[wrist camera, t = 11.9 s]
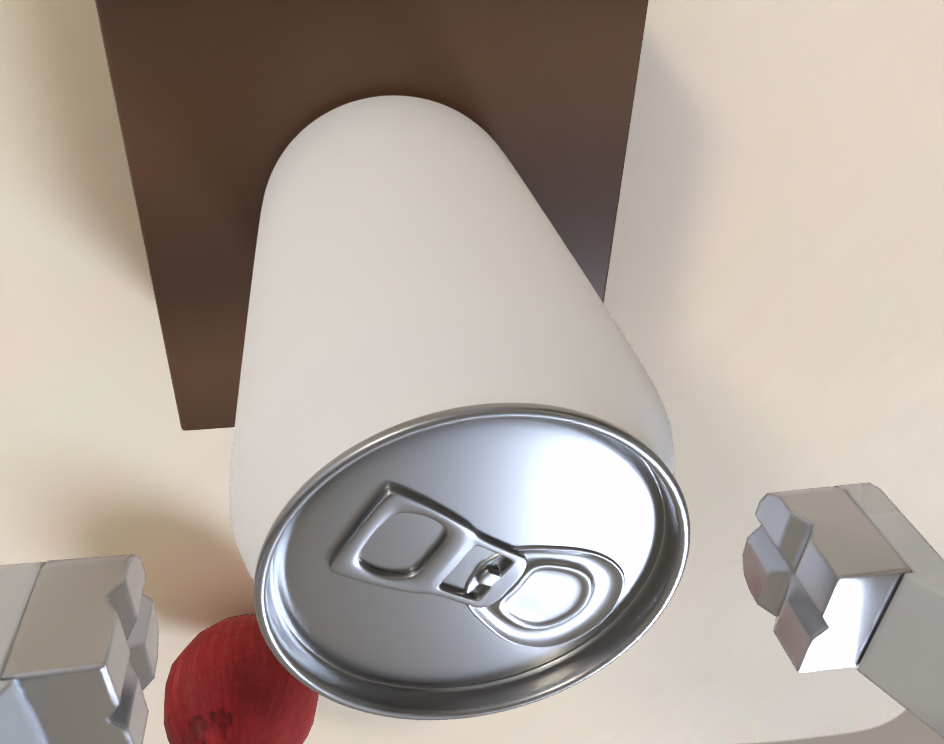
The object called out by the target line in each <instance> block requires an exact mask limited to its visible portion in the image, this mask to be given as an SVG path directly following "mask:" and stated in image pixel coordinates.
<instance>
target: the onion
mask: <svg viewBox="0 0 944 744" xmlns="http://www.w3.org/2000/svg"><path fill="white" fill-rule="evenodd" d="M318 695H319V694H318V693H317V692H315V691H313V690H312V689H310V688H309V687H307V686H306V685H304V684H303V683H301V682H300V681H299V680H298V679H296V678H295V677H294V676H293V675H292V674H291V673H289V672H288V671H287V670H286V669H285V668H284V666H283V665H282V664H281V663H280V662H279V661H278V660H277V658H276V657H275V656H274V654H273V653H272V651H271V650H270V648H269V647H268V645H267V643H266V641H265V639H264V637H263V635H262V633H261V630H260V627H259V624H258V621H257V617H256V615H252V614H251V615H249V614H246V615H240V616H234V617H229V618H227V619H224V620H222V621H220V622H218V623H216V624H214V625H212V626H211V627H209V628H207V629H206V630H204V631H202V632H200V633H199V634H198V635H197V636H196V637H195V638H194V639H193V640H192V641H191V643H190V644H189V645H188V646H187V647H186V648H185V649H184V650H183V652H182V653H181V654H180V655H179V657H178V658H177V659H176V660H175V661H174V663H173V664H172V666H171V669H170V673H169V676H168V679H167V682H166V687H165V700H164V726H165V730H166V734H167V738H168V741H169V743H170V744H303V742H304V741H305V739H306V738H307V736H308V734H309V732H310V729H311V727H312V725H313V722H314V717H315V711H316V706H317V701H318Z"/></svg>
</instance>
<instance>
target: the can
mask: <svg viewBox="0 0 944 744" xmlns="http://www.w3.org/2000/svg"><path fill="white" fill-rule="evenodd" d="M230 513H231V522H232V529H233V533H234V537H235V541H236V544H237V547H238V549H239V552H240V555H241V557H242V560H243V562H244V564H245V566H246V568H247V570H248V572H249V574H250V576H251V577H252V579H253V581H254V588H253V596H254V607H255V613H256V617H257V621H258V624H259V627H260V630H261V633H262V635H263V637H264V639H265V641H266V643H267V645H268V647H269V648H270V650H271V651H272V653H273V654H274V656H275V657H276V658H277V660H278V661H279V662H280V663H281V664H282V665H283V666H284V668H285V669H286V670H287V671H288V672H289V673H291V674H292V675H293V676H294V677H295V678H296V679H298V680H299V681H300V682H301V683H303V684H304V685H306V686H307V687H309V688H310V689H312V690H313V691H315V692H317V693H318V694H320V695H322V696H324V697H326V698H328V699H330V700H332V701H334V702H337V703H339V704H342V705H344V706H347V707H350V708H353V709H356V710H359V711H363V712H367V713H371V714H375V715H381V716H386V717H393V718H401V719H414V720H447V719H460V718H469V717H476V716H483V715H488V714H493V713H498V712H502V711H506V710H510V709H514V708H517V707H521V706H524V705H527V704H530V703H533V702H536V701H539V700H542V699H544V698H547V697H549V696H552V695H554V694H557V693H559V692H561V691H563V690H565V689H567V688H570V687H572V686H574V685H576V684H577V683H579V682H581V681H583V680H585V679H587V678H588V677H590V676H592V675H593V674H595V673H597V672H598V671H600V670H601V669H603V668H604V667H606V666H607V665H609V664H610V663H611V662H613V661H614V660H616V659H617V658H618V657H619V656H621V655H622V654H623V653H624V652H626V651H627V650H628V649H629V648H630V647H631V646H633V645H634V644H635V643H636V642H637V641H638V640H639V639H640V638H641V637H642V636H643V635H644V634H645V633H646V632H647V631H648V630H649V628H650V627H651V626H652V625H653V624H654V623H655V621H656V620H657V619H658V618H659V616H660V615H661V614H662V612H663V611H664V609H665V608H666V606H667V605H668V603H669V602H670V600H671V598H672V596H673V595H674V593H675V591H676V589H677V587H678V585H679V582H680V580H681V577H682V575H683V572H684V569H685V566H686V562H687V558H688V552H689V545H690V522H689V515H688V509H687V505H686V502H685V499H684V496H683V493H682V491H681V489H680V487H679V485H678V483H677V481H676V479H675V477H674V445H673V437H672V431H671V427H670V423H669V419H668V416H667V413H666V411H665V408H664V406H663V403H662V401H661V399H660V396H659V394H658V392H657V390H656V388H655V386H654V384H653V382H652V380H651V379H650V377H649V375H648V374H647V372H646V370H645V368H644V367H643V365H642V363H641V362H640V360H639V358H638V357H637V355H636V353H635V352H634V350H633V349H632V347H631V346H630V344H629V342H628V341H627V339H626V338H625V336H624V335H623V333H622V331H621V330H620V328H619V327H618V325H617V324H616V322H615V320H614V319H613V317H612V316H611V314H610V313H609V311H608V310H607V308H606V307H605V305H604V303H603V302H602V300H601V299H600V297H599V296H598V294H597V293H596V291H595V290H594V288H593V286H592V285H591V283H590V282H589V280H588V279H587V277H586V276H585V274H584V273H583V271H582V270H581V268H580V267H579V265H578V263H577V262H576V260H575V259H574V257H573V256H572V254H571V253H570V251H569V250H568V248H567V247H566V245H565V244H564V242H563V241H562V239H561V237H560V236H559V234H558V233H557V231H556V230H555V228H554V227H553V225H552V224H551V222H550V221H549V219H548V218H547V216H546V215H545V213H544V212H543V210H542V209H541V207H540V206H539V204H538V203H537V201H536V200H535V198H534V197H533V195H532V194H531V192H530V191H529V189H528V188H527V186H526V185H525V183H524V182H523V180H522V179H521V177H520V176H519V174H518V173H517V171H516V170H515V168H514V167H513V165H512V164H511V162H510V161H509V160H508V158H507V157H506V155H505V154H504V153H503V151H502V150H501V149H500V147H499V146H498V145H497V143H496V142H495V141H494V140H493V139H492V138H491V137H490V136H489V135H488V134H487V133H486V132H485V131H484V130H483V129H482V128H481V127H480V126H479V125H477V124H476V123H475V122H473V121H472V120H471V119H469V118H468V117H466V116H465V115H463V114H461V113H460V112H458V111H456V110H454V109H452V108H450V107H448V106H445V105H443V104H440V103H437V102H434V101H431V100H427V99H422V98H417V97H411V96H395V95H391V96H377V97H370V98H365V99H361V100H357V101H354V102H350V103H348V104H345V105H342V106H340V107H337V108H335V109H333V110H331V111H329V112H328V113H326V114H324V115H322V116H321V117H319V118H318V119H316V120H315V121H313V122H312V123H311V124H309V125H308V126H307V127H306V128H305V129H303V130H302V131H301V132H300V133H299V134H298V135H297V136H296V137H295V138H294V139H293V140H292V142H291V143H290V144H289V145H288V146H287V148H286V149H285V150H284V152H283V153H282V155H281V156H280V158H279V160H278V161H277V163H276V165H275V167H274V169H273V171H272V173H271V176H270V178H269V181H268V184H267V187H266V190H265V194H264V198H263V203H262V209H261V215H260V222H259V229H258V236H257V244H256V252H255V259H254V267H253V276H252V284H251V292H250V300H249V308H248V316H247V325H246V333H245V341H244V350H243V358H242V367H241V375H240V384H239V393H238V402H237V410H236V419H235V429H234V438H233V448H232V459H231V473H230Z"/></svg>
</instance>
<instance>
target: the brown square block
mask: <svg viewBox="0 0 944 744" xmlns="http://www.w3.org/2000/svg"><path fill="white" fill-rule="evenodd" d="M95 2H96V7H97V12H98V17H99V22H100V27H101V32H102V37H103V42H104V47H105V52H106V57H107V62H108V67H109V72H110V77H111V82H112V87H113V92H114V97H115V101H116V106H117V111H118V116H119V121H120V126H121V131H122V136H123V141H124V146H125V151H126V156H127V161H128V166H129V171H130V176H131V181H132V186H133V191H134V196H135V201H136V206H137V211H138V215H139V220H140V225H141V230H142V235H143V240H144V245H145V250H146V255H147V260H148V265H149V270H150V275H151V280H152V285H153V290H154V295H155V300H156V305H157V310H158V315H159V320H160V324H161V329H162V334H163V339H164V344H165V349H166V354H167V359H168V364H169V369H170V374H171V379H172V384H173V389H174V394H175V399H176V404H177V409H178V414H179V419H180V424H181V428H182V430H185V431H186V430H200V429H214V428H228V427H235V419H236V410H237V402H238V393H239V384H240V375H241V367H242V358H243V350H244V341H245V333H246V325H247V316H248V308H249V300H250V292H251V284H252V276H253V267H254V259H255V252H256V244H257V236H258V229H259V222H260V215H261V209H262V203H263V198H264V194H265V190H266V187H267V184H268V181H269V178H270V176H271V173H272V171H273V169H274V167H275V165H276V163H277V161H278V160H279V158H280V156H281V155H282V153H283V152H284V150H285V149H286V148H287V146H288V145H289V144H290V143H291V142H292V140H293V139H294V138H295V137H296V136H297V135H298V134H299V133H300V132H301V131H302V130H303V129H305V128H306V127H307V126H308V125H309V124H311V123H312V122H313V121H315V120H316V119H318V118H319V117H321V116H322V115H324V114H326V113H328V112H329V111H331V110H333V109H335V108H337V107H340V106H342V105H345V104H348V103H350V102H354V101H357V100H361V99H365V98H370V97H377V96H391V95H395V96H411V97H417V98H422V99H427V100H431V101H434V102H437V103H440V104H443V105H445V106H448V107H450V108H452V109H454V110H456V111H458V112H460V113H461V114H463V115H465V116H466V117H468V118H469V119H471V120H472V121H473V122H475V123H476V124H477V125H479V126H480V127H481V128H482V129H483V130H484V131H485V132H486V133H487V134H488V135H489V136H490V137H491V138H492V139H493V140H494V141H495V142H496V143H497V145H498V146H499V147H500V149H501V150H502V151H503V153H504V154H505V155H506V157H507V158H508V160H509V161H510V162H511V164H512V165H513V167H514V168H515V170H516V171H517V173H518V174H519V176H520V177H521V179H522V180H523V182H524V183H525V185H526V186H527V188H528V189H529V191H530V192H531V194H532V195H533V197H534V198H535V200H536V201H537V203H538V204H539V206H540V207H541V209H542V210H543V212H544V213H545V215H546V216H547V218H548V219H549V221H550V222H551V224H552V225H553V227H554V228H555V230H556V231H557V233H558V234H559V236H560V237H561V239H562V241H563V242H564V244H565V245H566V247H567V248H568V250H569V251H570V253H571V254H572V256H573V257H574V259H575V260H576V262H577V263H578V265H579V267H580V268H581V270H582V271H583V273H584V274H585V276H586V277H587V279H588V280H589V282H590V283H591V285H592V286H593V288H594V290H595V291H596V293H597V294H598V296H599V297H600V299H601V300H602V302H603V303H604V296H605V289H606V282H607V276H608V269H609V262H610V256H611V249H612V242H613V235H614V229H615V222H616V215H617V208H618V202H619V195H620V188H621V181H622V175H623V168H624V161H625V154H626V148H627V141H628V134H629V128H630V121H631V114H632V107H633V101H634V94H635V87H636V80H637V74H638V67H639V60H640V53H641V47H642V40H643V33H644V26H645V20H646V13H647V6H648V0H95Z"/></svg>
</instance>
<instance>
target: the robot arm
mask: <svg viewBox="0 0 944 744" xmlns="http://www.w3.org/2000/svg"><path fill="white" fill-rule="evenodd" d="M755 515H756V517H757V518H758V520H759V521H760V523H761V526H760V527H758V528H757V529H756V530H755V531H754V532H753V533H752V534H751V535H750V536H749V537H747V541H746V544H745V548H744V551H743V555H742V556H743V569H744V576H745V579H746V582H747V585H748V588H749V590H750V592H751V594H752V596H753V597H754V599H755V601H756V603H757V604H758V605H759V606H761V607H762V608H764V609H765V610H767V611H768V612H770V613H771V614H773V615H774V616H776V619H775V625H774V633H775V635H776V636H777V638H778V640H779V641H780V643H781V645H782V646H783V648H784V650H785V651H786V653H787V655H788V656H789V658H790V660H791V661H792V663H793V665H794V666H795V668H796V670H797V671H798V673H802V672H811V671H820V670H829V669H839V668H848V667H857V666H858V668H857V670H858V671H859V672H860V673H861V674H863V675H864V676H865V677H866V678H868V679H869V680H870V681H872V682H873V683H874V684H875V685H877V686H878V687H879V688H880V689H882V690H883V691H884V692H885V693H887V694H888V695H889V696H891V697H892V698H893V699H894V700H896V701H897V702H898V703H899V704H901V705H902V706H903V707H905V708H906V709H907V710H908V711H910V712H911V713H912V714H913V715H915V716H916V717H917V718H919V719H920V720H921V721H922V722H924V723H925V724H926V725H928V726H929V727H930V728H931V729H933V730H934V731H935V732H936V733H938V734H939V735H940V736H942V737H943V738H944V560H943V559H942V558H941V556H940V555H939V554H938V553H937V552H936V551H935V550H934V549H933V547H932V546H931V545H930V544H929V543H928V542H927V541H926V540H925V538H924V537H923V536H922V535H921V534H920V533H919V532H918V531H917V529H916V528H915V527H914V526H913V525H912V524H911V523H910V522H909V521H908V519H907V518H906V517H905V516H904V515H903V514H902V513H901V512H900V510H899V509H898V508H897V507H896V506H895V505H894V504H893V503H892V501H891V500H890V499H889V498H888V497H887V496H886V495H885V494H884V492H883V491H882V490H881V489H880V488H878V487H877V486H875V485H873V484H871V483H869V482H868V483H859V484H849V485H840V486H834V487H821V488H811V489H802V490H792V491H783V492H774V493H767V494H766V495H765V496H764V497H763V498H762V499H761V500H760V502H759V505H758V507H757V510H756V513H755ZM145 579H146V573H145V570H144V567H143V564H142V561H141V557H140V556H137V555H135V554H134V555H121V556H107V557H93V558H79V559H66V560H52V561H47V562H36V563H22V564H8V565H1V566H0V744H143V739H144V734H145V728H146V723H147V717H148V712H149V711H148V708H147V704H146V701H145V698H144V694H143V690H144V689H145V688H146V686H147V685H148V684H149V683H150V682H151V681H152V680H153V679H154V678H155V671H156V665H157V659H158V636H159V631H158V622H157V614H156V610H155V606H154V602H153V600H152V599H150V598H149V597H147V596H146V595H144V594H143V589H144V584H145Z"/></svg>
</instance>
